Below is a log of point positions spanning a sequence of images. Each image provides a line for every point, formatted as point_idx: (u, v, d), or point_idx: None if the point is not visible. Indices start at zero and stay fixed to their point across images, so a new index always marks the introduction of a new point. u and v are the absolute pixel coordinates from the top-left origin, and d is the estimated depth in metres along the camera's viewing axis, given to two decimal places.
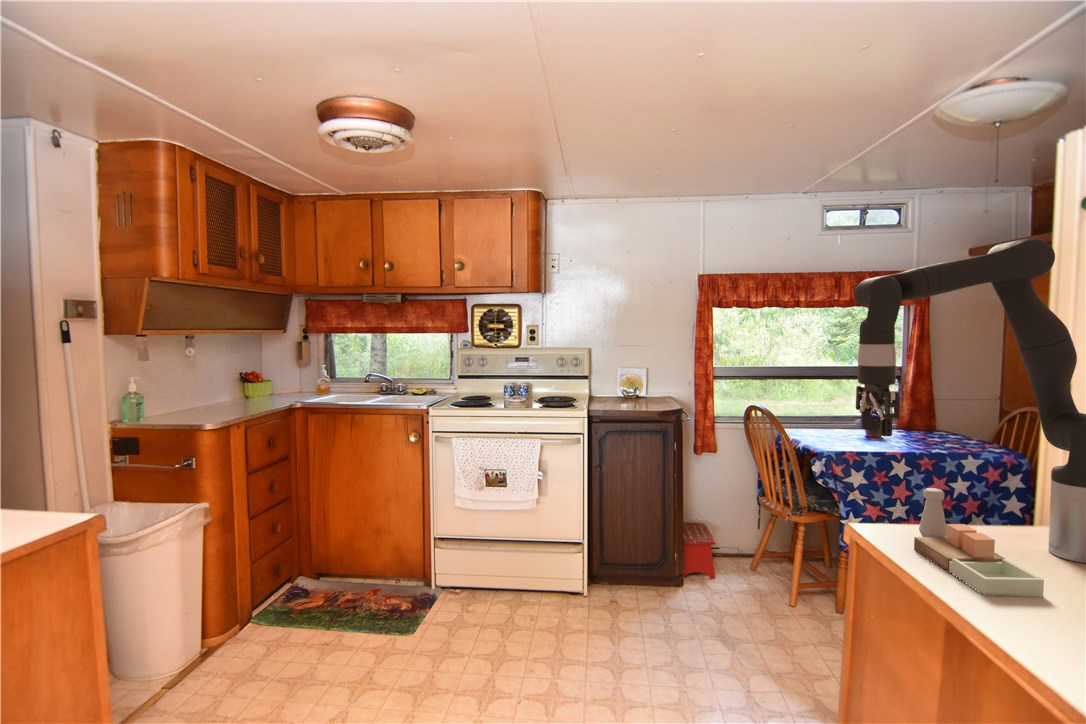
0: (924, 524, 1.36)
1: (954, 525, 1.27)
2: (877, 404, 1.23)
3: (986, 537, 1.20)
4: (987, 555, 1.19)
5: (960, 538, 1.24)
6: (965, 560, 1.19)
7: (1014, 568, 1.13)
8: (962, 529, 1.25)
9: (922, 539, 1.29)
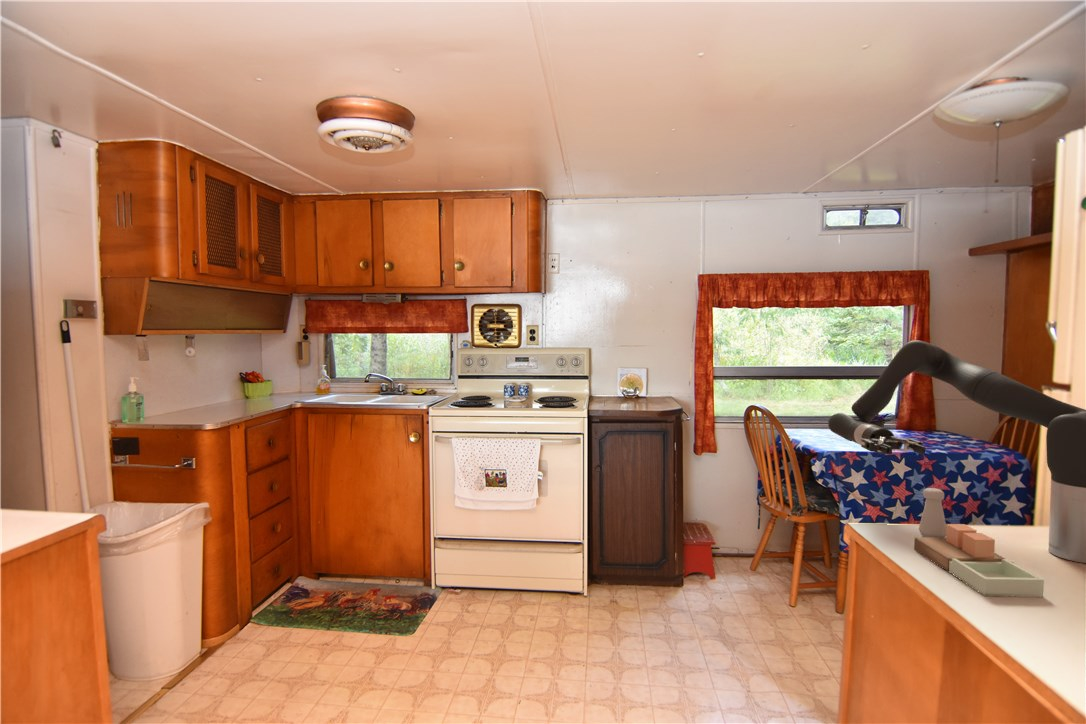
0: (924, 524, 1.36)
1: (954, 525, 1.27)
2: None
3: (986, 537, 1.20)
4: (987, 555, 1.19)
5: (960, 538, 1.24)
6: (965, 560, 1.19)
7: (1014, 568, 1.13)
8: (962, 529, 1.25)
9: (922, 539, 1.29)
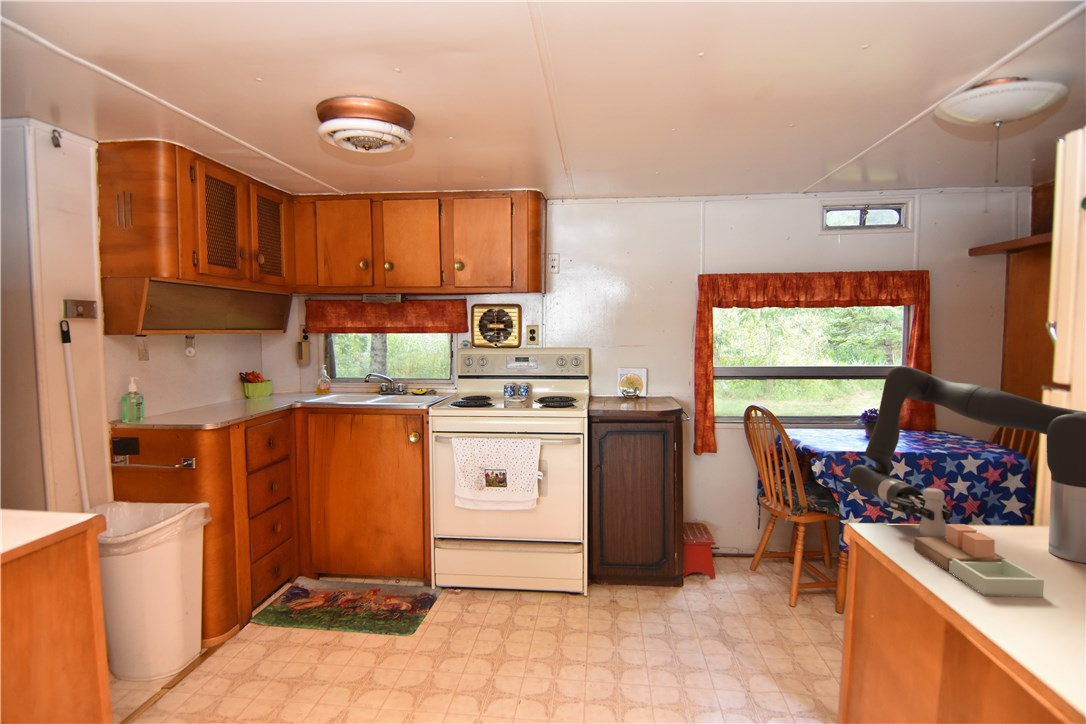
0: (924, 524, 1.36)
1: (954, 525, 1.27)
2: None
3: (986, 537, 1.20)
4: (987, 555, 1.19)
5: (960, 538, 1.24)
6: (965, 560, 1.19)
7: (1014, 568, 1.13)
8: (962, 529, 1.25)
9: (922, 539, 1.29)
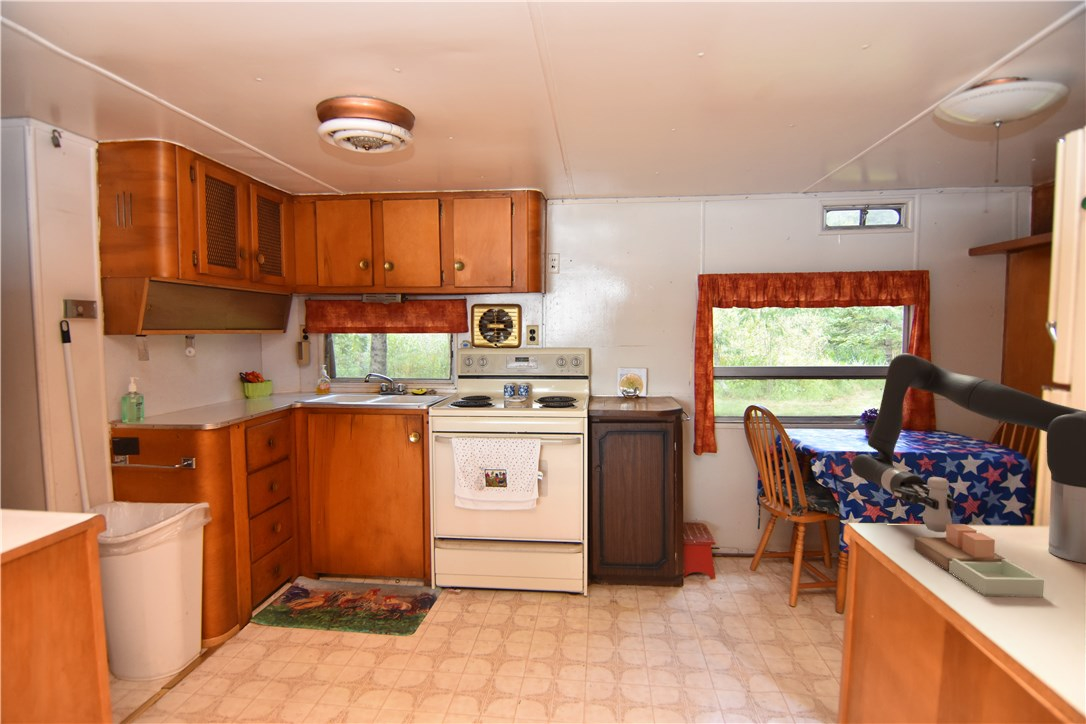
0: (929, 513, 1.34)
1: (954, 525, 1.27)
2: None
3: (986, 537, 1.20)
4: (987, 555, 1.19)
5: (960, 538, 1.24)
6: (965, 560, 1.19)
7: (1014, 568, 1.13)
8: (962, 529, 1.25)
9: (922, 539, 1.29)
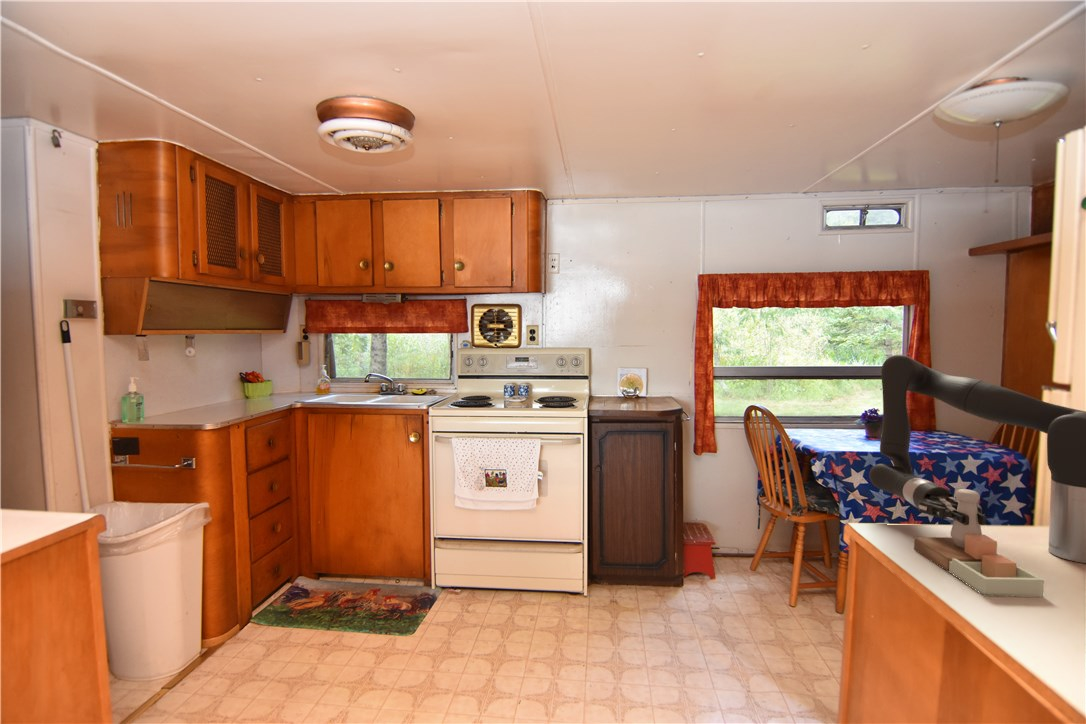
0: (957, 528, 1.24)
1: (973, 535, 1.21)
2: None
3: (1012, 575, 1.13)
4: None
5: (979, 550, 1.18)
6: (965, 560, 1.19)
7: None
8: (981, 540, 1.18)
9: (922, 539, 1.29)
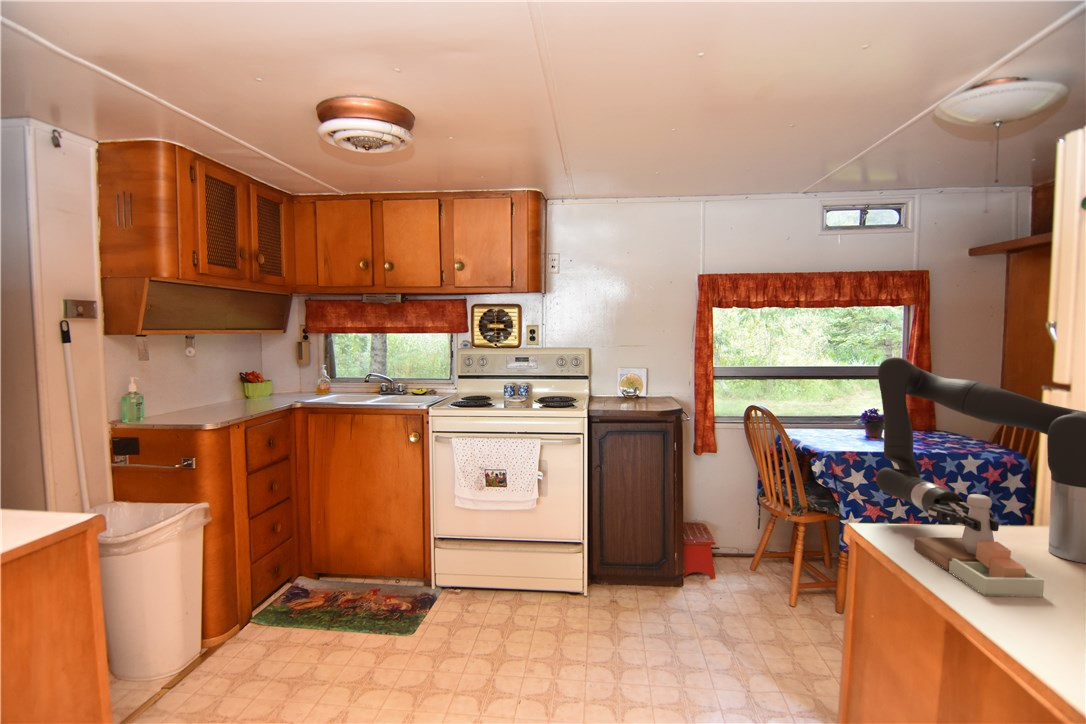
0: (969, 535, 1.20)
1: (986, 543, 1.17)
2: None
3: None
4: None
5: None
6: (965, 560, 1.19)
7: None
8: (995, 549, 1.14)
9: (922, 539, 1.29)
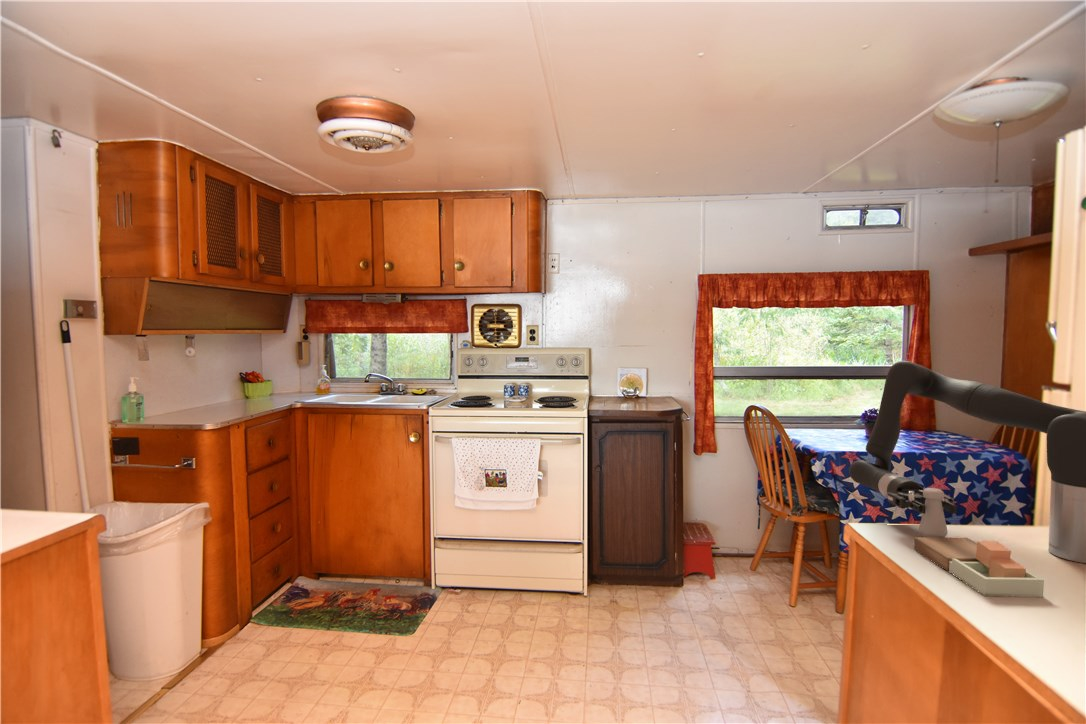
0: (925, 524, 1.36)
1: (986, 543, 1.17)
2: None
3: None
4: None
5: None
6: (965, 560, 1.19)
7: None
8: (995, 549, 1.14)
9: (922, 539, 1.29)
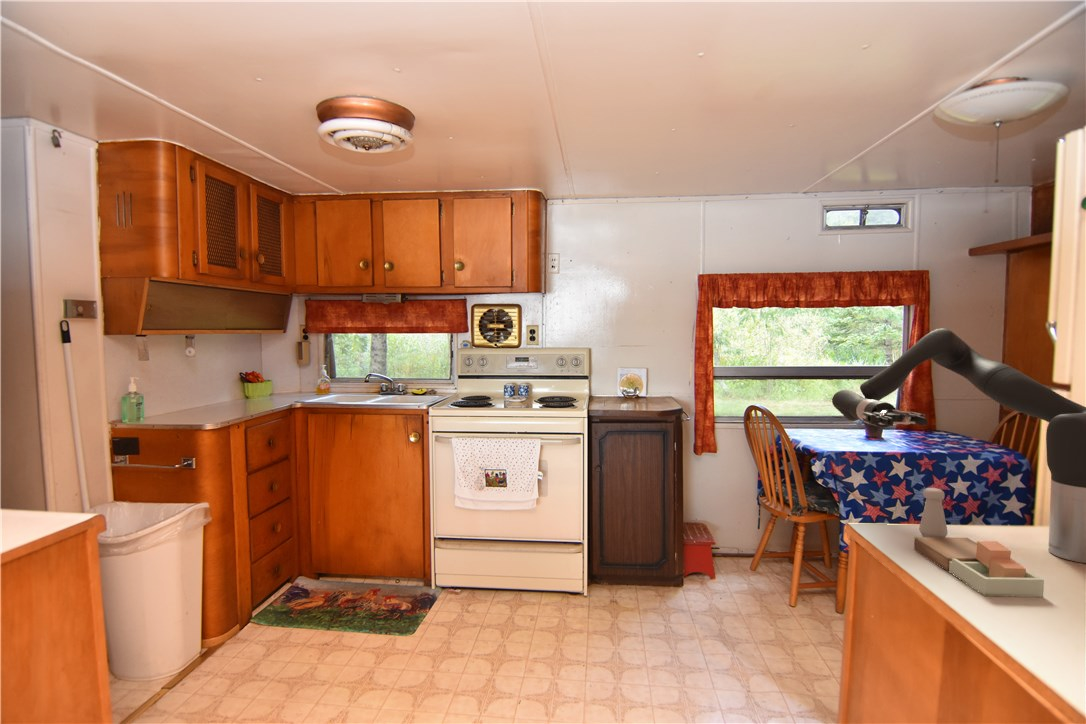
0: (925, 524, 1.36)
1: (986, 543, 1.17)
2: None
3: None
4: None
5: None
6: (965, 560, 1.19)
7: None
8: (995, 549, 1.14)
9: (922, 539, 1.29)
